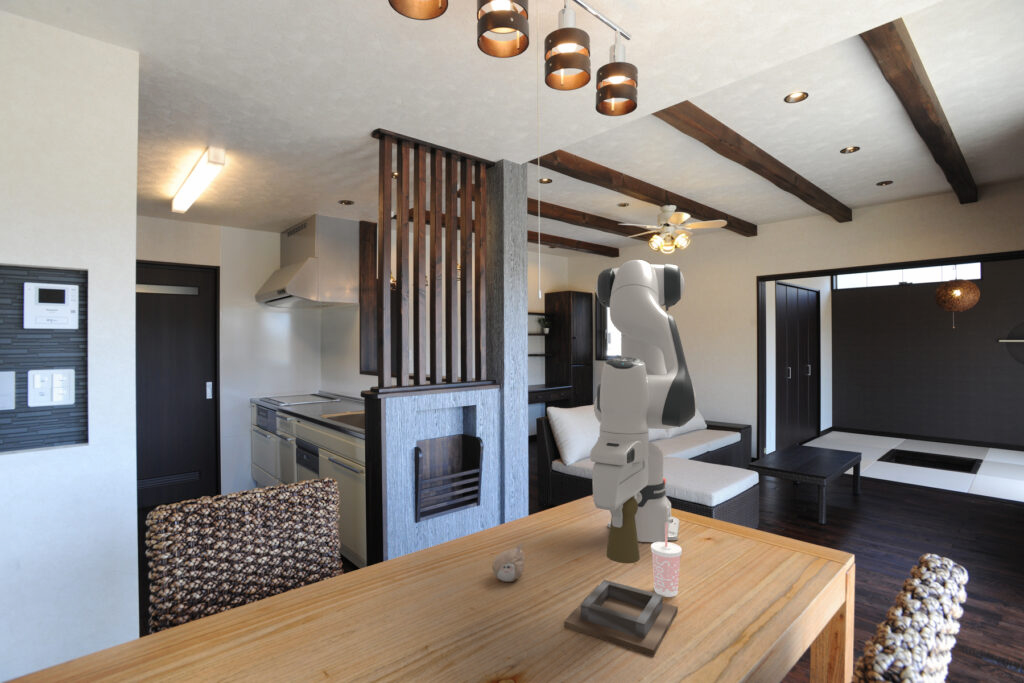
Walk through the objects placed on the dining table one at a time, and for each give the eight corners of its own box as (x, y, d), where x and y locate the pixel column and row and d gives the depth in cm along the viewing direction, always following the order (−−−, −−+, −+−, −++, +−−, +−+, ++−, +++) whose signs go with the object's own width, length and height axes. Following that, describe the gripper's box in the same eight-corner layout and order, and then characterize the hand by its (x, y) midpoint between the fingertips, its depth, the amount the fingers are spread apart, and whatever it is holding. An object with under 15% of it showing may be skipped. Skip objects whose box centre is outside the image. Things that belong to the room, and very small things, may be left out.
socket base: (597, 589, 103) (598, 572, 103) (677, 612, 95) (677, 593, 95) (564, 626, 89) (564, 606, 89) (653, 656, 81) (653, 634, 81)
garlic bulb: (514, 589, 103) (514, 550, 103) (487, 582, 106) (487, 544, 106) (528, 576, 109) (528, 539, 109) (502, 570, 112) (502, 534, 112)
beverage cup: (644, 588, 104) (644, 520, 104) (664, 581, 107) (664, 515, 107) (667, 601, 98) (668, 530, 99) (688, 593, 102) (688, 524, 102)
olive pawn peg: (641, 564, 88) (641, 502, 89) (606, 561, 89) (606, 499, 90) (638, 551, 94) (639, 492, 94) (606, 548, 95) (606, 490, 96)
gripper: (625, 436, 103) (625, 503, 103) (586, 453, 85) (585, 535, 85) (656, 439, 99) (656, 509, 99) (621, 457, 82) (621, 542, 82)
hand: (623, 521), depth 92 cm, fingers closed on olive pawn peg, 4 cm apart
